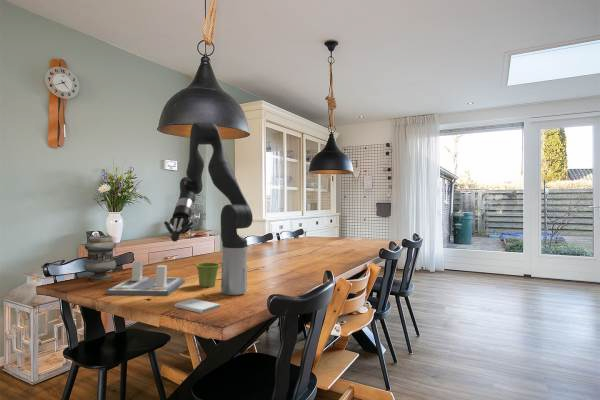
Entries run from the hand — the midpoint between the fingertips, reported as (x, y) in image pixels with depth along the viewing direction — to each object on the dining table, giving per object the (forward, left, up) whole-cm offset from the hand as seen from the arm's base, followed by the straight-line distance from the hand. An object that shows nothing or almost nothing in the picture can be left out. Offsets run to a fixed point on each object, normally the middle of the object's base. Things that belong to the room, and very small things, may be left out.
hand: (174, 240), depth 150 cm
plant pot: (-15, +4, -18) cm, 24 cm away
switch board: (+6, +10, -18) cm, 21 cm away
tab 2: (0, +14, -16) cm, 21 cm away
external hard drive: (-18, +33, -18) cm, 42 cm away
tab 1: (+13, +5, -16) cm, 21 cm away
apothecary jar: (+33, -6, -18) cm, 38 cm away
